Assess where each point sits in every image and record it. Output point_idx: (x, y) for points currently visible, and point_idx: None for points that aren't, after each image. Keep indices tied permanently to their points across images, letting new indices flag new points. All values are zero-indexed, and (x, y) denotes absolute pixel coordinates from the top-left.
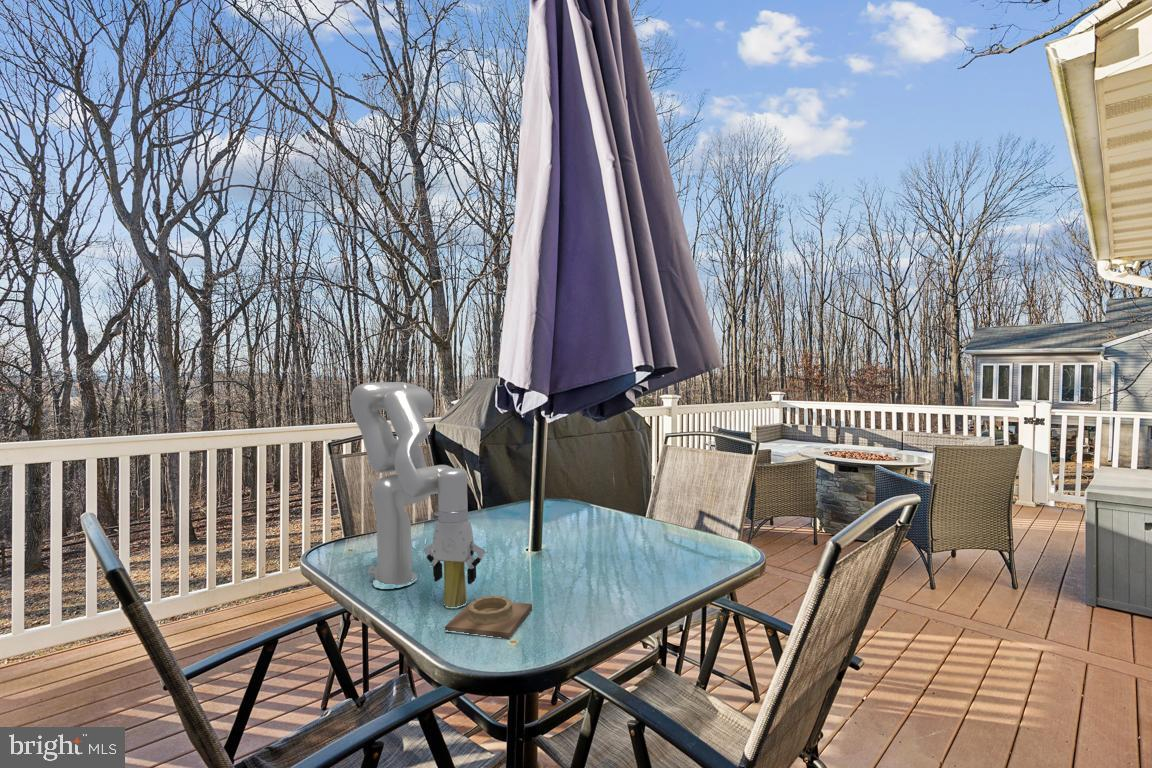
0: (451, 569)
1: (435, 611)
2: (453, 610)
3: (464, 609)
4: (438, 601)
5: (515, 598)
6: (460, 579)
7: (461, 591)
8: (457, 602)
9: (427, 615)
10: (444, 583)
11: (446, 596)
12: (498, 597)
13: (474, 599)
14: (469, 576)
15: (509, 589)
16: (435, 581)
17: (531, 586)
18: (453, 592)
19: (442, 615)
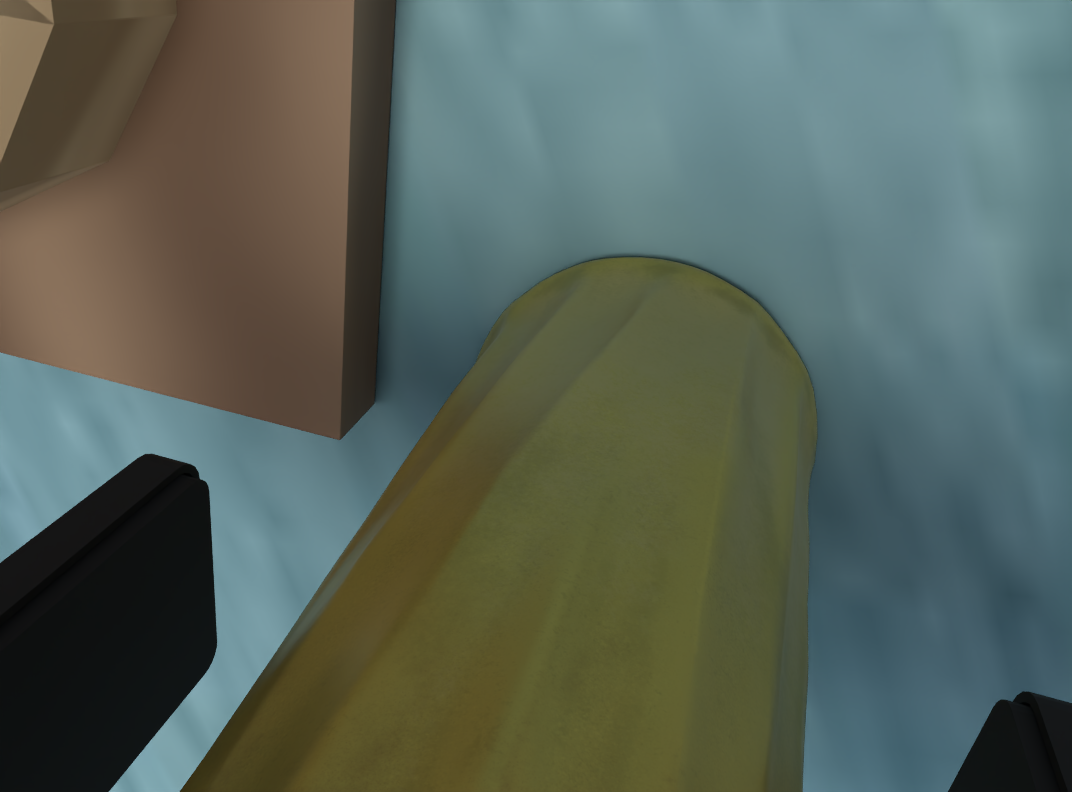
0: (410, 785)
1: (907, 192)
2: (607, 229)
3: (328, 46)
4: (934, 547)
5: (10, 529)
6: (336, 576)
7: (427, 433)
8: (538, 320)
9: (1035, 15)
10: (777, 587)
11: (722, 374)
12: None
13: (330, 423)
14: (28, 550)
15: (169, 735)
16: (1049, 700)
17: None
18: (556, 382)
19: (738, 29)
